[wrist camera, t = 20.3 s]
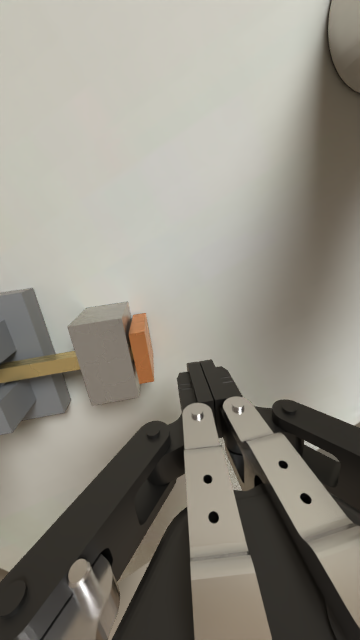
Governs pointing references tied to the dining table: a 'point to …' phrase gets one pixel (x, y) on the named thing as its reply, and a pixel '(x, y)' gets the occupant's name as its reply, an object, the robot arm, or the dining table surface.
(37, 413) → the socket
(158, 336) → the dining table surface
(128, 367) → the block
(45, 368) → the lock pin
